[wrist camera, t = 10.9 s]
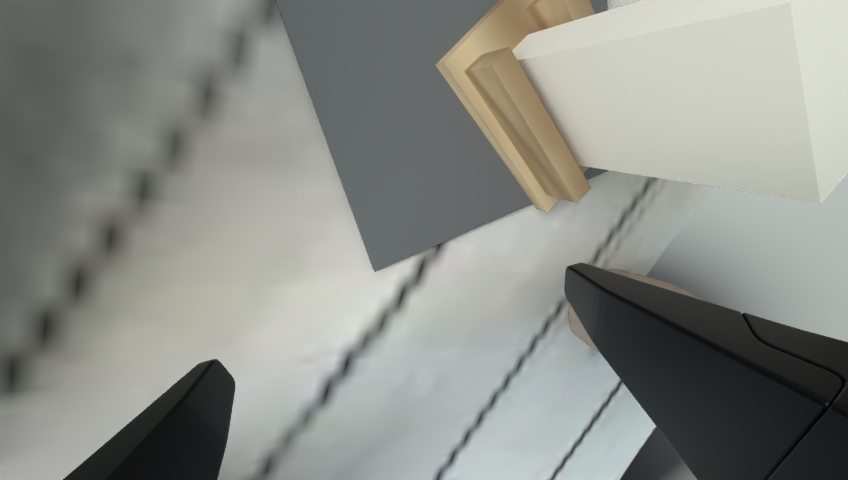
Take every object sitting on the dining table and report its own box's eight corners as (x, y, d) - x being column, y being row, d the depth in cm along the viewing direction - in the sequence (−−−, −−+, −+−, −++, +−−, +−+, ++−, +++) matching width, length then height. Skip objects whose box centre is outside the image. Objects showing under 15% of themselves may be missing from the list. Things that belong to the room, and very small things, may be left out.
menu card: (559, 162, 22) (821, 203, 12) (499, 64, 19) (789, 2, 9) (583, 136, 23) (862, 155, 12) (527, 34, 19) (848, -62, 9)
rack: (536, 208, 24) (576, 222, 21) (435, 64, 19) (469, 55, 16) (607, 132, 25) (657, 135, 21) (527, -29, 19) (578, -56, 16)
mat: (609, 167, 26) (614, 167, 26) (373, 269, 21) (375, 271, 21) (589, -229, 18) (596, -236, 18) (200, -207, 13) (198, -216, 13)
